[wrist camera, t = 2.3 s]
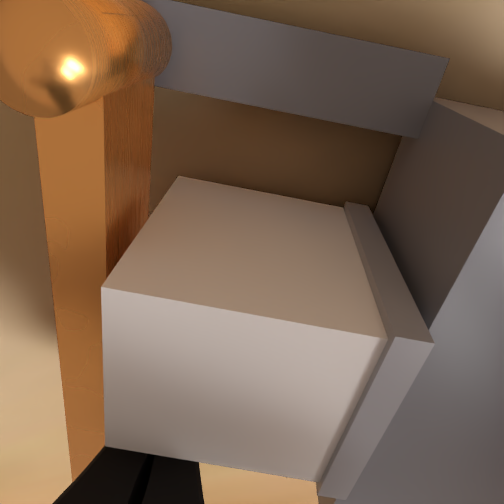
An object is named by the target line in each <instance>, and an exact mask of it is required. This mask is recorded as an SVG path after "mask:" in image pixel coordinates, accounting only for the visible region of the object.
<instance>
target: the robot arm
mask: <svg viewBox="0 0 504 504" xmlns="http://www.w3.org/2000/svg"><path fill="white" fill-rule="evenodd" d="M53 504H204V499H203V492H202V485H201V477H200V469H199V462H195V461H189V460H183V459H177V458H171V457H166V456H160V455H154V454H148V453H142V452H136V451H130V450H124V449H118V448H112V447H107V446H104V447H103V448H102V449H101V450H100V452H99V453H98V454H97V455H96V456H95V458H94V459H93V460H92V461H91V462H90V463H89V465H88V466H87V467H86V468H85V469H84V470H83V471H82V473H81V474H80V475H79V476H78V477H77V478H76V479H75V480H74V481H73V483H72V484H71V485H70V486H69V487H68V488H67V489H66V490H65V491H64V492H63V493H62V494H61V495H60V496H59V497H58V498H57V499H56V500H55V502H54V503H53Z"/></svg>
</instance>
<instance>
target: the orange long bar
mask: <svg viewBox="0 0 504 504" xmlns="http://www.w3.org/2000/svg"><path fill="white" fill-rule="evenodd" d="M171 53H172V39H171V34H170V31H169V28H168V26H167V23H166V22H165V20H164V18H163V17H162V16H161V14H160V13H159V12H158V11H157V10H156V9H155V8H154V7H152V6H151V5H149V4H148V3H146V2H144V1H141V0H0V100H1V101H2V102H3V103H5V104H6V105H8V106H9V107H11V108H12V109H14V110H16V111H18V112H20V113H23V114H25V115H29V116H33V117H34V122H35V131H36V141H37V150H38V160H39V169H40V179H41V188H42V198H43V207H44V217H45V226H46V236H47V245H48V255H49V264H50V274H51V283H52V293H53V302H54V312H55V321H56V330H57V340H58V349H59V359H60V368H61V378H62V387H63V397H64V406H65V416H66V425H67V435H68V444H69V454H70V463H71V473H72V482H73V481H74V480H75V479H76V478H77V477H78V476H79V475H80V474H81V473H82V471H83V470H84V469H85V468H86V467H87V466H88V465H89V463H90V462H91V461H92V460H93V459H94V458H95V456H96V455H97V454H98V453H99V452H100V450H101V449H102V448H103V447H104V446H105V424H104V384H103V345H102V306H101V286H102V285H103V283H104V282H105V280H106V279H107V277H108V276H109V275H110V273H111V272H112V270H113V269H114V267H115V266H116V265H117V263H118V262H119V260H120V259H121V257H122V256H123V254H124V253H125V252H126V250H127V249H128V247H129V246H130V244H131V243H132V242H133V240H134V239H135V237H136V236H137V234H138V233H139V231H140V230H141V229H142V227H143V226H144V224H145V223H146V221H147V220H148V213H149V192H150V170H151V148H152V127H153V105H154V83H155V77H157V76H158V75H160V74H161V73H162V72H163V71H164V70H165V68H166V67H167V65H168V63H169V61H170V58H171Z"/></svg>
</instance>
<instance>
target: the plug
mask: <svg viewBox="0 0 504 504" xmlns="http://www.w3.org/2000/svg"><path fill="white" fill-rule="evenodd" d="M101 306H102V345H103V384H104V424H105V446H107V447H112V448H118V449H124V450H130V451H136V452H142V453H148V454H154V455H160V456H166V457H171V458H177V459H183V460H189V461H195V462H201V463H207V464H213V465H219V466H225V467H230V468H236V469H242V470H248V471H254V472H260V473H266V474H272V475H278V476H284V477H289V478H295V479H301V480H307V481H313V482H316V487H317V495H318V496H324V497H330V498H336V499H342V500H346V499H347V497H348V495H349V494H350V492H351V490H352V488H353V487H354V485H355V483H356V481H357V480H358V478H359V476H360V474H361V473H362V471H363V469H364V467H365V466H366V464H367V462H368V460H369V459H370V457H371V455H372V453H373V452H374V450H375V448H376V446H377V445H378V443H379V441H380V439H381V438H382V436H383V434H384V432H385V431H386V429H387V427H388V425H389V424H390V422H391V420H392V418H393V417H394V415H395V413H396V411H397V410H398V408H399V406H400V404H401V403H402V401H403V399H404V397H405V396H406V394H407V392H408V390H409V389H410V387H411V385H412V383H413V382H414V380H415V378H416V376H417V375H418V373H419V371H420V369H421V368H422V366H423V364H424V362H425V361H426V359H427V357H428V355H429V354H430V352H431V350H432V348H433V347H434V345H435V343H434V341H433V338H432V336H431V334H430V332H429V330H428V328H427V326H426V324H425V322H424V320H423V318H422V316H421V314H420V312H419V310H418V308H417V306H416V303H415V301H414V299H413V297H412V295H411V293H410V291H409V289H408V287H407V285H406V283H405V281H404V279H403V277H402V275H401V273H400V271H399V268H398V266H397V264H396V262H395V260H394V258H393V256H392V254H391V252H390V250H389V248H388V246H387V244H386V242H385V240H384V238H383V236H382V233H381V231H380V229H379V227H378V225H377V223H376V221H375V219H374V217H373V215H372V213H371V211H370V209H369V207H368V206H367V205H362V204H356V203H351V202H345V205H344V208H343V207H338V206H332V205H327V204H322V203H317V202H312V201H307V200H301V199H296V198H291V197H286V196H281V195H276V194H270V193H265V192H260V191H255V190H250V189H245V188H239V187H234V186H229V185H224V184H219V183H214V182H209V181H203V180H198V179H193V178H188V177H183V176H178V177H177V178H176V180H175V181H174V183H173V184H172V185H171V187H170V188H169V190H168V191H167V193H166V194H165V195H164V197H163V198H162V200H161V201H160V203H159V204H158V206H157V207H156V208H155V210H154V211H153V213H152V214H151V216H150V217H149V218H148V220H147V221H146V223H145V224H144V226H143V227H142V229H141V230H140V231H139V233H138V234H137V236H136V237H135V239H134V240H133V242H132V243H131V244H130V246H129V247H128V249H127V250H126V252H125V253H124V254H123V256H122V257H121V259H120V260H119V262H118V263H117V265H116V266H115V267H114V269H113V270H112V272H111V273H110V275H109V276H108V277H107V279H106V280H105V282H104V283H103V285H102V286H101Z"/></svg>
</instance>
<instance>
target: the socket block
mask: <svg viewBox="0 0 504 504" xmlns="http://www.w3.org/2000/svg"><path fill="white" fill-rule="evenodd" d="M141 1H144V2H146V3H148V4H149V5H151V6H152V7H154V8H155V9H156V10H157V11H158V12H159V13H160V14H161V16H162V17H163V18H164V20H165V22H166V23H167V26H168V28H169V31H170V34H171V39H172V53H171V58H170V61H169V63H168V65H167V67H166V68H165V70H164V71H163V72H162V73H161V74H160V75H158V76H157V77H155V83H154V86H157V87H162V88H167V89H172V90H177V91H182V92H187V93H192V94H197V95H202V96H207V97H212V98H217V99H222V100H227V101H231V102H236V103H241V104H246V105H251V106H256V107H261V108H266V109H271V110H276V111H281V112H286V113H291V114H296V115H301V116H306V117H311V118H316V119H321V120H326V121H331V122H336V123H341V124H346V125H351V126H356V127H361V128H366V129H371V130H376V131H381V132H386V133H391V134H396V135H401V136H402V139H401V142H400V144H399V147H398V150H397V152H396V155H395V158H394V160H393V163H392V166H391V169H390V171H389V174H388V177H387V179H386V182H385V185H384V187H383V190H382V193H381V195H380V198H379V201H378V203H377V206H376V209H375V211H374V214H373V217H374V219H375V221H376V223H377V225H378V227H379V229H380V231H381V233H382V236H383V238H384V240H385V242H386V244H387V246H388V248H389V250H390V252H391V254H392V256H393V258H394V260H395V262H396V264H397V266H398V268H399V271H400V273H401V275H402V277H403V279H404V281H405V283H406V285H407V287H408V289H409V291H410V293H411V295H412V297H413V299H414V301H415V303H416V306H417V308H418V310H419V312H420V314H421V316H422V318H423V320H424V322H425V324H426V326H427V328H428V330H429V332H430V334H431V336H432V338H433V341H434V343H435V345H434V347H433V348H432V350H431V352H430V354H429V355H428V357H427V359H426V361H425V362H424V364H423V366H422V368H421V369H420V371H419V373H418V375H417V376H416V378H415V380H414V382H413V383H412V385H411V387H410V389H409V390H408V392H407V394H406V396H405V397H404V399H403V401H402V403H401V404H400V406H399V408H398V410H397V411H396V413H395V415H394V417H393V418H392V420H391V422H390V424H389V425H388V427H387V429H386V431H385V432H384V434H383V436H382V438H381V439H380V441H379V443H378V445H377V446H376V448H375V450H374V452H373V453H372V455H371V457H370V459H369V460H368V462H367V464H366V466H365V467H364V469H363V471H362V473H361V474H360V476H359V478H358V480H357V481H356V483H355V485H354V487H353V488H352V490H351V492H350V494H349V495H348V497H347V499H346V500H342V499H336V498H330V497H324V496H318V502H319V504H504V111H501V110H496V109H491V108H486V107H481V106H476V105H471V104H466V103H462V102H457V101H452V100H447V99H442V98H437V97H435V95H436V92H437V90H438V87H439V85H440V82H441V80H442V77H443V75H444V72H445V70H446V67H447V65H448V62H449V59H450V58H445V57H440V56H435V55H431V54H426V53H421V52H416V51H411V50H407V49H402V48H397V47H392V46H387V45H383V44H378V43H373V42H368V41H363V40H359V39H354V38H349V37H344V36H340V35H335V34H330V33H325V32H320V31H316V30H311V29H306V28H301V27H296V26H292V25H287V24H282V23H277V22H272V21H268V20H263V19H258V18H253V17H248V16H244V15H239V14H234V13H229V12H225V11H220V10H215V9H210V8H205V7H201V6H196V5H191V4H186V3H181V2H177V1H172V0H141Z"/></svg>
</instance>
